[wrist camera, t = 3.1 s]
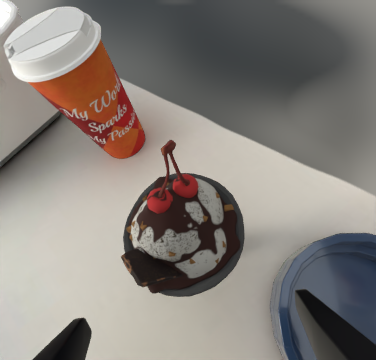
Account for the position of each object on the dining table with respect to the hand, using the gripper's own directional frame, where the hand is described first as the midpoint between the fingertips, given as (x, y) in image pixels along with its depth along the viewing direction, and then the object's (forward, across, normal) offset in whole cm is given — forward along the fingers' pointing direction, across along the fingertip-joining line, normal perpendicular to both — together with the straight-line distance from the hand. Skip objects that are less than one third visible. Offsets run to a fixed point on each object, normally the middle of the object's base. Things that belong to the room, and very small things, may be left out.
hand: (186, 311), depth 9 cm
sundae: (+11, 0, +5) cm, 12 cm away
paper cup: (+22, +8, -6) cm, 24 cm away
